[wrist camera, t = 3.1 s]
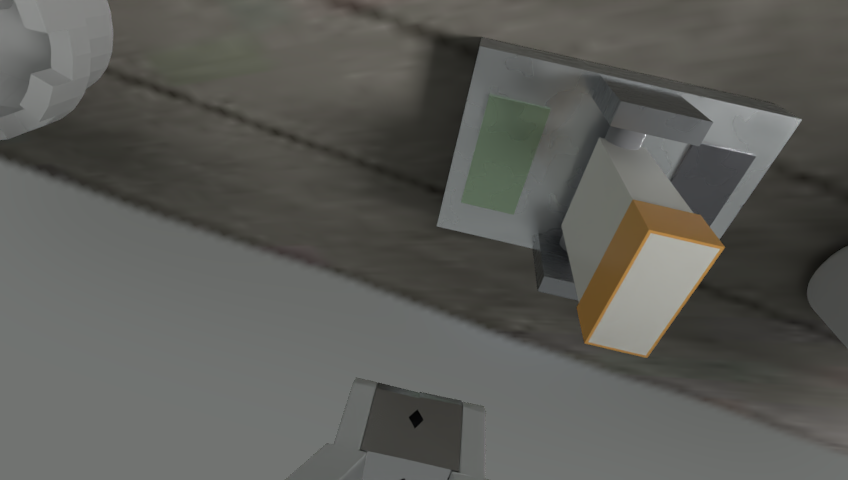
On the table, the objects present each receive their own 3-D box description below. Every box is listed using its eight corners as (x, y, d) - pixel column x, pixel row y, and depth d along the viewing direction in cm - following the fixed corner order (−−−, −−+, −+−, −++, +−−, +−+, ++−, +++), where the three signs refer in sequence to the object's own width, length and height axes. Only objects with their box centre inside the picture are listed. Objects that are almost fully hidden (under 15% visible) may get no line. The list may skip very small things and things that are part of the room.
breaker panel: (774, 103, 22) (862, 153, 17) (674, 259, 28) (716, 334, 22) (481, 37, 22) (476, 65, 17) (441, 205, 28) (427, 267, 23)
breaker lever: (653, 120, 21) (744, 220, 13) (592, 243, 25) (635, 375, 17) (603, 108, 21) (664, 201, 13) (550, 233, 25) (574, 360, 17)
